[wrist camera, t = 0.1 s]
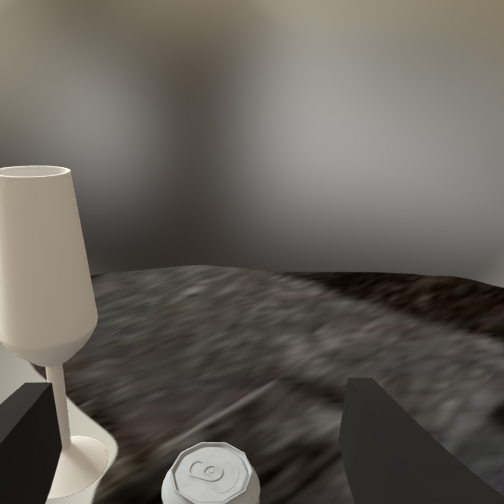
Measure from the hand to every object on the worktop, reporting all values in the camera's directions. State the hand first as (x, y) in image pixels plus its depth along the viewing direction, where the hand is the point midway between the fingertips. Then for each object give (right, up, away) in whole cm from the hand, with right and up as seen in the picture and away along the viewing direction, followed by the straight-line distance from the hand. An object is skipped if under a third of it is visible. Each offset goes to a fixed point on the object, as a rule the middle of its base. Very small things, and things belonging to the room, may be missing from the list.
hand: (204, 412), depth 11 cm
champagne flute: (-14, -14, +26) cm, 32 cm away
